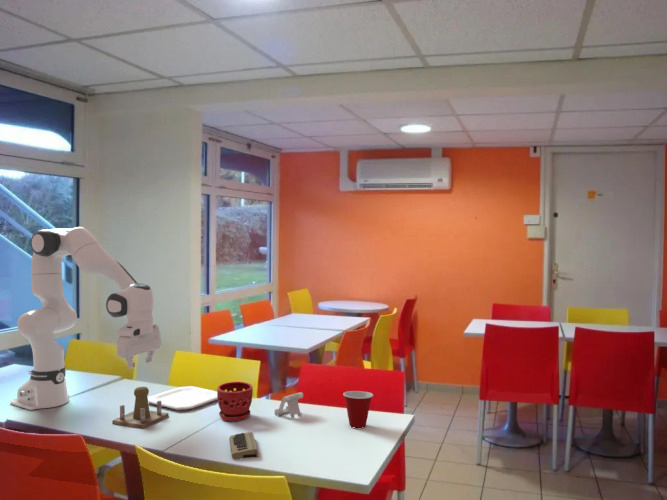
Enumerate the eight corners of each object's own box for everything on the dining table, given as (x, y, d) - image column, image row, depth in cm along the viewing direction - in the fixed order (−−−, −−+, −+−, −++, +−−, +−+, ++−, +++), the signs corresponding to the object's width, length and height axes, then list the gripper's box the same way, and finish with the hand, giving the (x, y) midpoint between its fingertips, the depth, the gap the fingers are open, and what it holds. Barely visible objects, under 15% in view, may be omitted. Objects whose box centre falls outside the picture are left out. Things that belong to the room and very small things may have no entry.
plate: (228, 398, 236) (228, 393, 236) (183, 415, 215) (183, 409, 215) (186, 389, 249) (186, 384, 249) (140, 404, 228) (140, 398, 228)
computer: (229, 442, 188) (229, 432, 187) (253, 440, 189) (253, 430, 189) (231, 460, 172) (231, 450, 172) (258, 458, 174) (258, 448, 174)
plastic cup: (376, 422, 206) (376, 390, 205) (368, 432, 195) (368, 398, 195) (348, 419, 209) (348, 387, 209) (338, 429, 199) (339, 395, 199)
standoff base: (112, 423, 204) (112, 406, 203) (138, 412, 217) (138, 396, 217) (143, 428, 199) (143, 411, 199) (168, 416, 212) (168, 400, 212)
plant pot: (210, 417, 211) (210, 386, 210) (238, 409, 220) (238, 379, 220) (231, 426, 202) (231, 393, 201) (259, 417, 211) (259, 385, 211)
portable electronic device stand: (291, 410, 220) (291, 389, 219) (305, 415, 214) (305, 393, 214) (274, 415, 214) (274, 393, 213) (287, 420, 208) (287, 398, 208)
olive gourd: (144, 420, 204) (144, 390, 204) (129, 418, 205) (129, 389, 205) (153, 414, 210) (153, 385, 210) (138, 413, 211) (138, 384, 211)
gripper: (151, 323, 217) (151, 358, 218) (113, 331, 198) (113, 370, 199) (165, 324, 215) (165, 359, 216) (128, 333, 196) (128, 372, 197)
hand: (140, 365), depth 207 cm, fingers open, 8 cm apart
